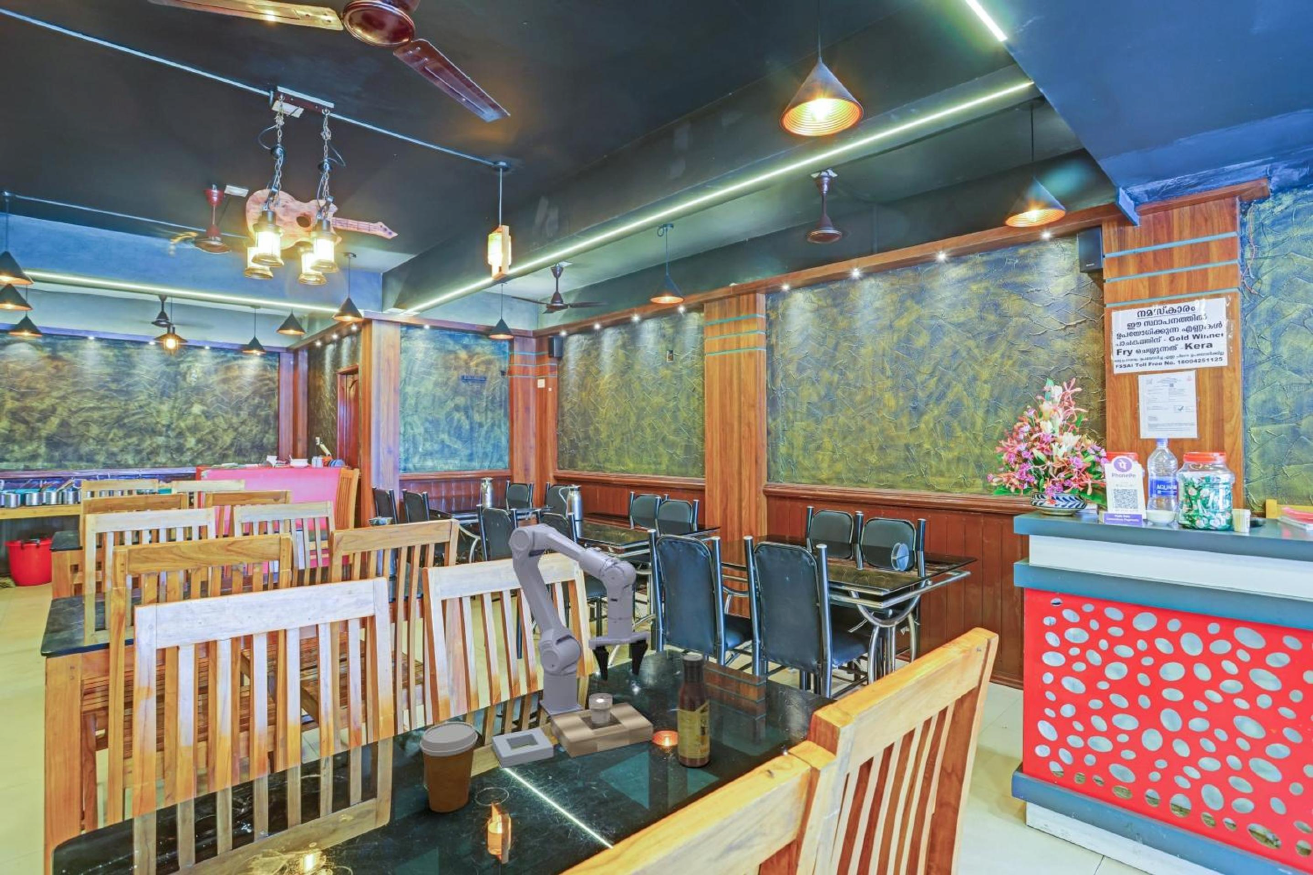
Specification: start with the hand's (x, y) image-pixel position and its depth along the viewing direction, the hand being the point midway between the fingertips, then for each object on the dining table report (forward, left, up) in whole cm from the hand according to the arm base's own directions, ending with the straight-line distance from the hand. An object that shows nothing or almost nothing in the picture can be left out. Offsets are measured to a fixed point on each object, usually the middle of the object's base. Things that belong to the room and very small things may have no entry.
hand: (620, 676), depth 144 cm
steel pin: (+6, -7, -9) cm, 13 cm away
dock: (+6, -7, -9) cm, 13 cm away
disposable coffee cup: (+19, -40, -10) cm, 45 cm away
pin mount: (+6, -24, -9) cm, 26 cm away
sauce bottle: (+25, +5, -10) cm, 27 cm away
